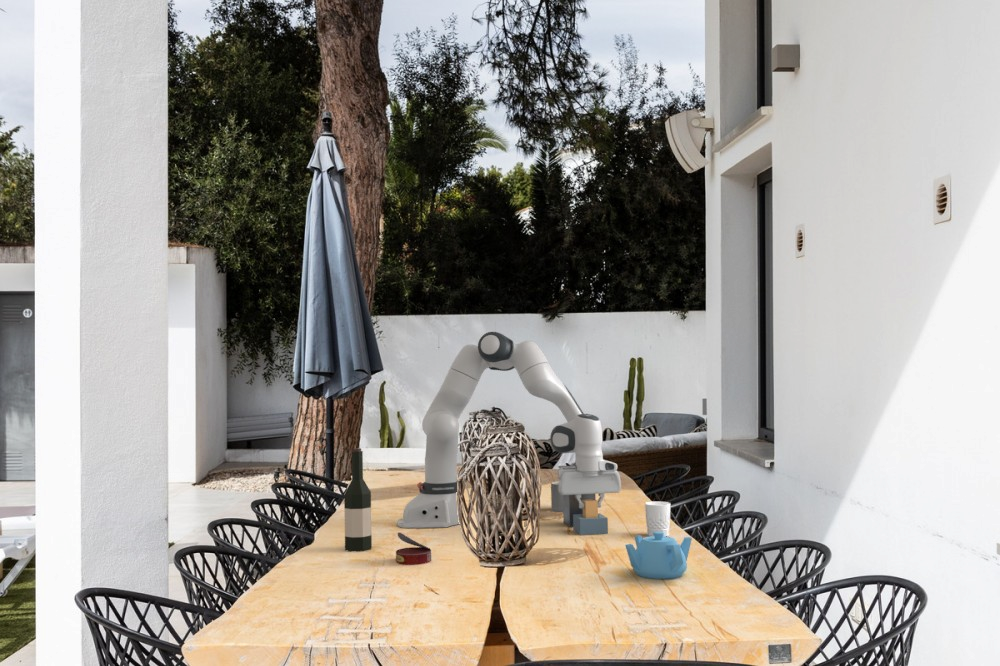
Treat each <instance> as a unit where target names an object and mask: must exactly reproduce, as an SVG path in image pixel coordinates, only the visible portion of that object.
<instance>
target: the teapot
mask: <svg viewBox="0 0 1000 666" xmlns="http://www.w3.org/2000/svg"><path fill="white" fill-rule="evenodd" d="M653 535H654V536H645V537H643V536H642V535H634V541H635V545H636V548H635V546H634V544H632V543H628V544H625V549H626V552H627V556H628V560H629V562H630V566H631V568H632V570H633V571H634V572H635V574H636V575H637V576H639V577H642V578H645V579H652V580H653V579H654V580H669V579H676V578H680V577H682V575H683V574H684V573H685V572H686V571H687V568H688V566H687V564H688V563H687V561H688V557H689V553H690V552H689V551H690V548H691V544H692V540H693V538H692V537H690V536H686V537H685V536H684V538H683V540H682V542H681V544H679V543H678V542H677V540H676V539H675V538H673V537H672V536H670V537H669V536H667V537H666V536H663V535H664V532H653Z"/></svg>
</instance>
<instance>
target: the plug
mask: <svg viewBox="0 0 1000 666" xmlns="http://www.w3.org/2000/svg"><path fill="white" fill-rule="evenodd" d="M582 502H584V503H585V508H583V518H595V517H598V513H599V508H598V499H596V500H595V499H587V500H582Z"/></svg>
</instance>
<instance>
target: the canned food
mask: <svg viewBox="0 0 1000 666" xmlns="http://www.w3.org/2000/svg"><path fill="white" fill-rule="evenodd" d="M397 536H398V538H399V539H400V540H401V541H403V542H404V543H407V544H409V545H413V546H414V547H413V546H411V547H405V548H404V547H403V548H400V549H397V550H396V551H395V563H396V564H398V565H404V566H414V565H415V566H416V565H425V564H429V563H430V562H432V549H431V548H430V547H428V546H425V545H423V544H421V543H419V542H417V541H416V540H414V539H411V538H410V537H409V536H406V535H405V534H404V533H402V532H397Z"/></svg>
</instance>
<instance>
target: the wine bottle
mask: <svg viewBox="0 0 1000 666" xmlns="http://www.w3.org/2000/svg"><path fill="white" fill-rule="evenodd" d="M363 453H364V451H363V450H362V448H361V447H357V448H356V447H355V448H352V451H351V481H350V482H349V485H348V487H347V488H346V490H345V493H344V495H343V496H344V498H343V499H344V551H346V550H348V551H347V552H351V551H356V552H366V551H370V550H372V548H373V547H372V545H373V544H372V543H373V542H372V541H373V540H372V491H371V489H370V488H369V486H368V485H367V483H366V482H365V480H364V473H363V472H364V470H363V469H364V466H363V465H364V464H363V463H364V461H363V459H364V458H363V455H364V454H363Z"/></svg>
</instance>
